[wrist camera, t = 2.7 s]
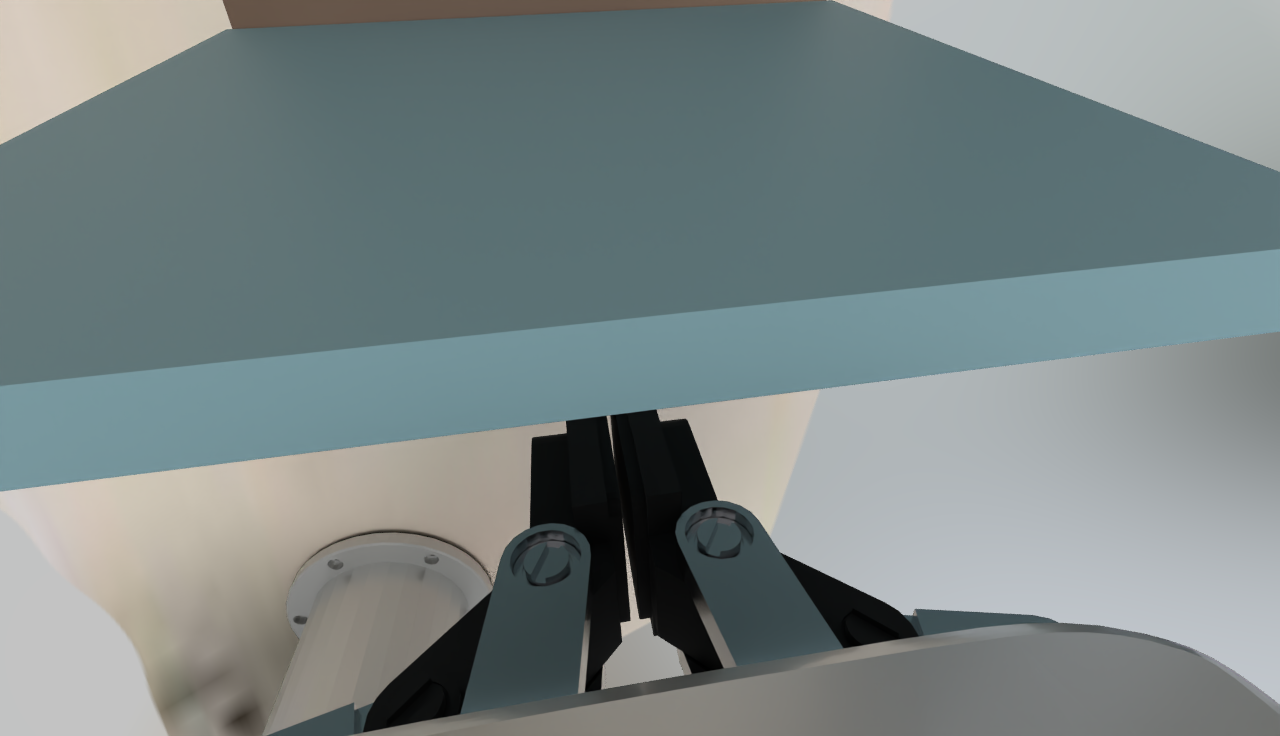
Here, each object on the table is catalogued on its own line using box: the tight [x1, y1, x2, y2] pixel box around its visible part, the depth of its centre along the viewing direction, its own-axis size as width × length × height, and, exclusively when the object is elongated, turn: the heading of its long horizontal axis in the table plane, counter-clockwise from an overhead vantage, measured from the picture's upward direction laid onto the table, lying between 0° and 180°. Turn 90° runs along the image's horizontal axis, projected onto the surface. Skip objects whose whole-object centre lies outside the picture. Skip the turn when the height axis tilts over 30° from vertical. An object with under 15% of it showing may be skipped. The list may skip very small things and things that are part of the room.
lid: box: [0, 0, 1280, 491], centre depth 12 cm, size 16×18×1 cm
